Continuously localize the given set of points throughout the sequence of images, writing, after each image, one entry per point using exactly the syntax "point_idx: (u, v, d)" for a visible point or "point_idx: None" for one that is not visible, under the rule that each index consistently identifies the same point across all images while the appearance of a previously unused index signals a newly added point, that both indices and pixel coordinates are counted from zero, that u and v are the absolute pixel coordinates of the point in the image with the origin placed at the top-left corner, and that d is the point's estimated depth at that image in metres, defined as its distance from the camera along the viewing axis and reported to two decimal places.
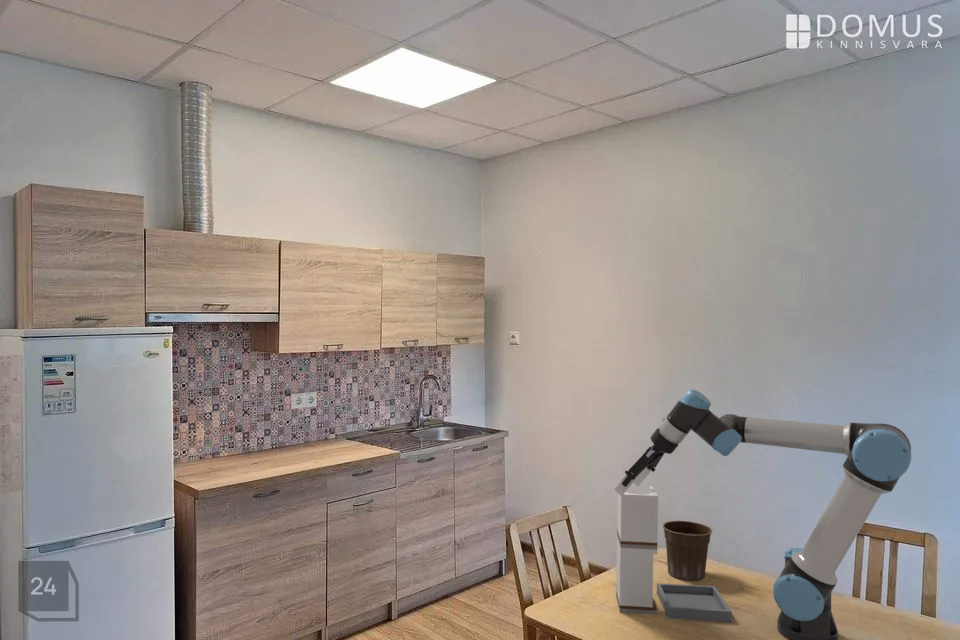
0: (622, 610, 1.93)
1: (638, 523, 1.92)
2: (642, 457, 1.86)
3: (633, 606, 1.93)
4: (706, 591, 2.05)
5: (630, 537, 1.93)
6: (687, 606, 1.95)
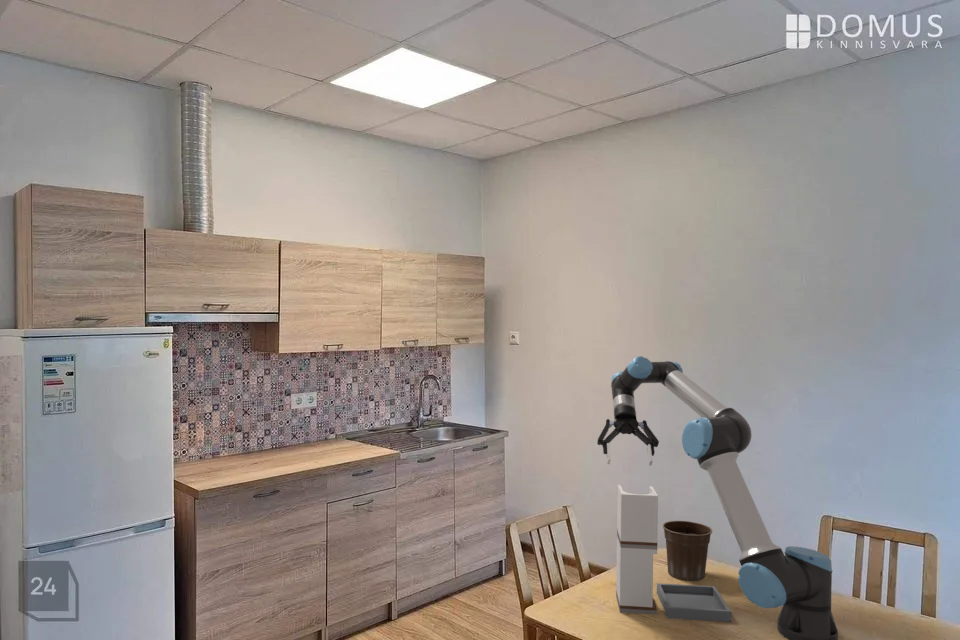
0: (622, 610, 1.93)
1: (638, 523, 1.92)
2: None
3: (633, 606, 1.93)
4: (706, 591, 2.05)
5: (630, 537, 1.93)
6: (687, 606, 1.95)
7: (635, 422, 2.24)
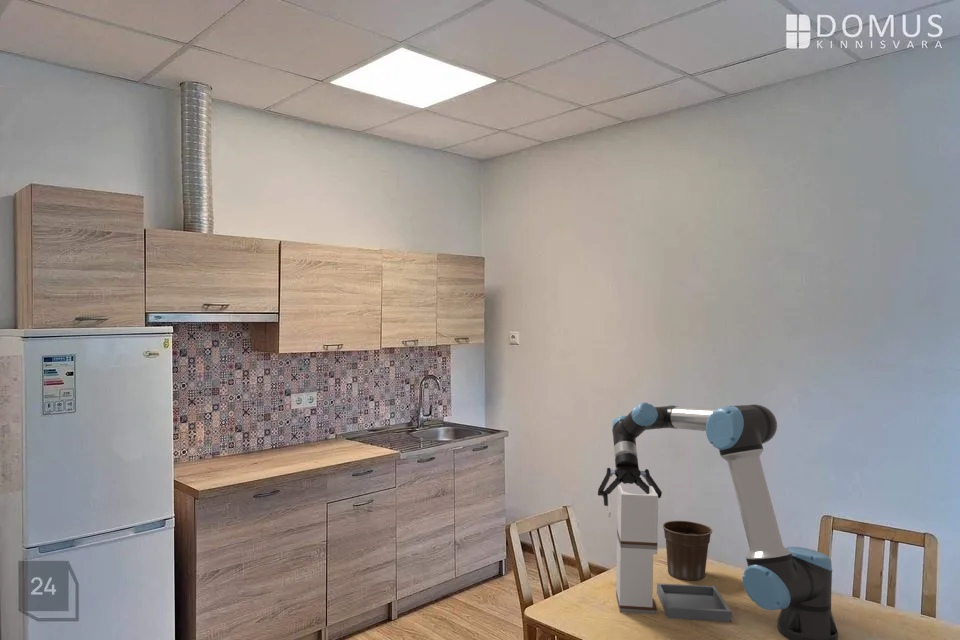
0: (622, 610, 1.93)
1: (638, 523, 1.92)
2: None
3: (633, 606, 1.93)
4: (706, 591, 2.05)
5: (630, 537, 1.93)
6: (687, 606, 1.95)
7: (637, 471, 2.15)
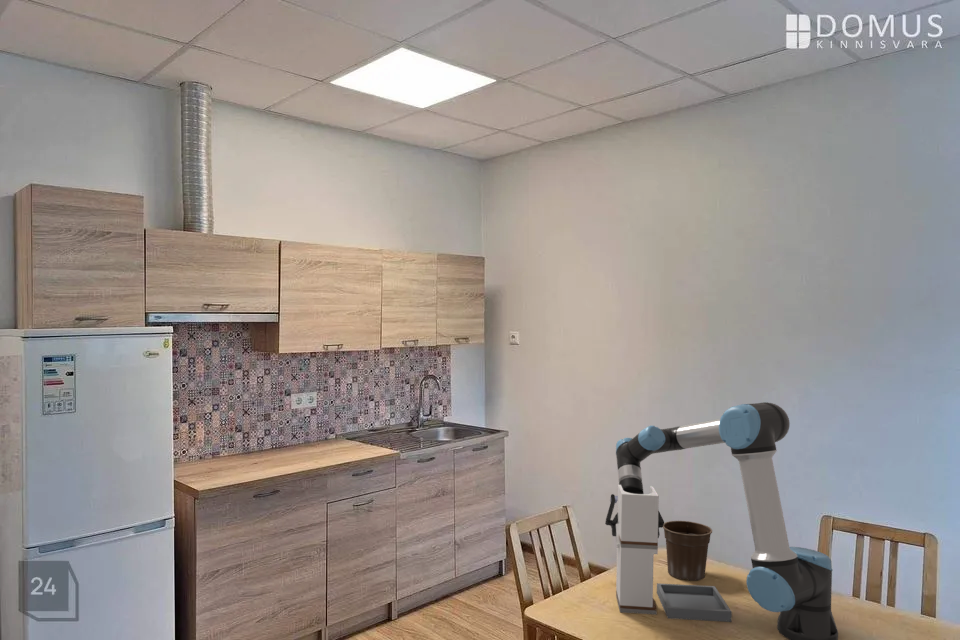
0: (622, 610, 1.93)
1: (638, 523, 1.92)
2: None
3: (633, 606, 1.93)
4: (706, 591, 2.05)
5: (630, 537, 1.93)
6: (687, 606, 1.95)
7: None
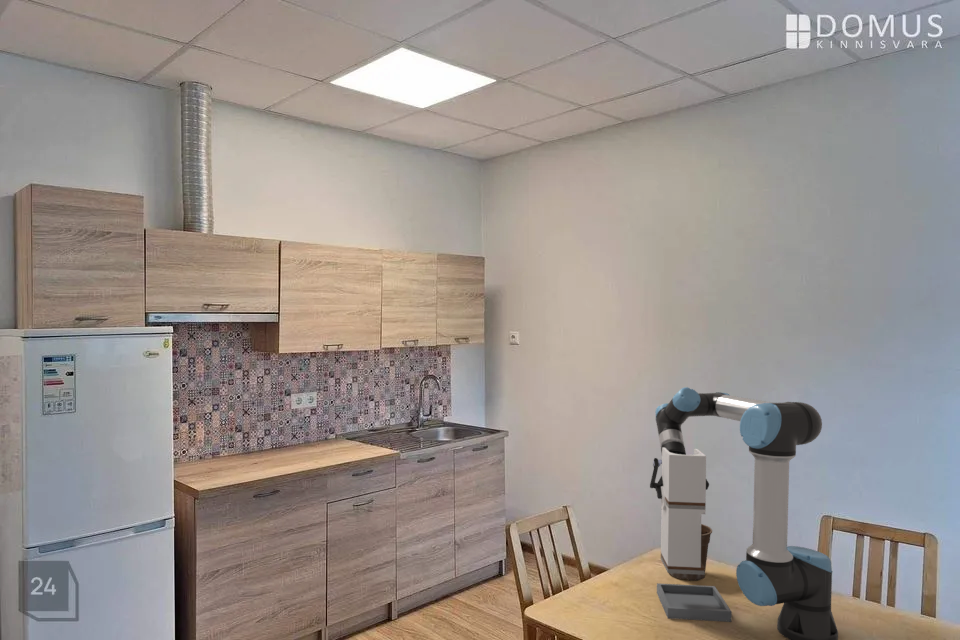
0: (670, 571, 1.93)
1: (686, 484, 1.93)
2: None
3: (681, 566, 1.93)
4: (706, 591, 2.05)
5: (678, 497, 1.93)
6: (687, 606, 1.95)
7: None
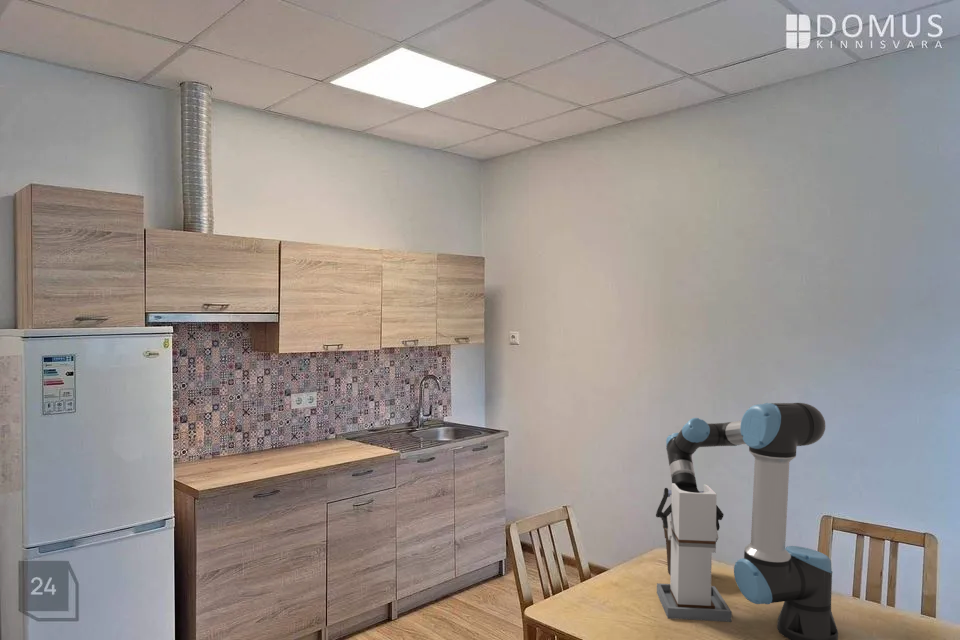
0: None
1: (696, 522, 1.92)
2: None
3: (691, 605, 1.92)
4: None
5: (688, 536, 1.92)
6: None
7: (696, 491, 2.07)
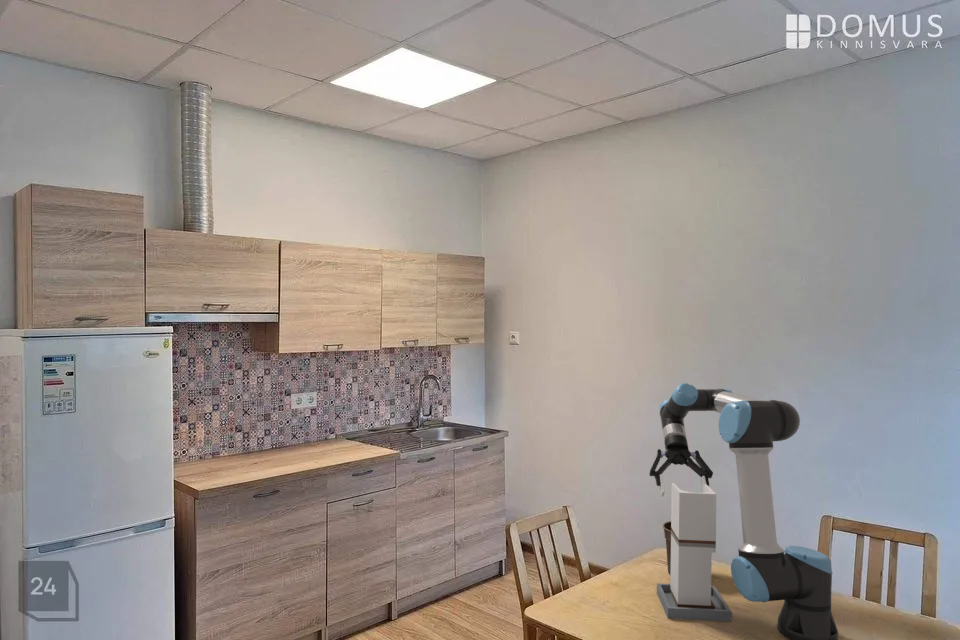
0: None
1: (696, 522, 1.92)
2: None
3: (691, 605, 1.92)
4: None
5: (688, 535, 1.92)
6: None
7: (687, 452, 2.20)
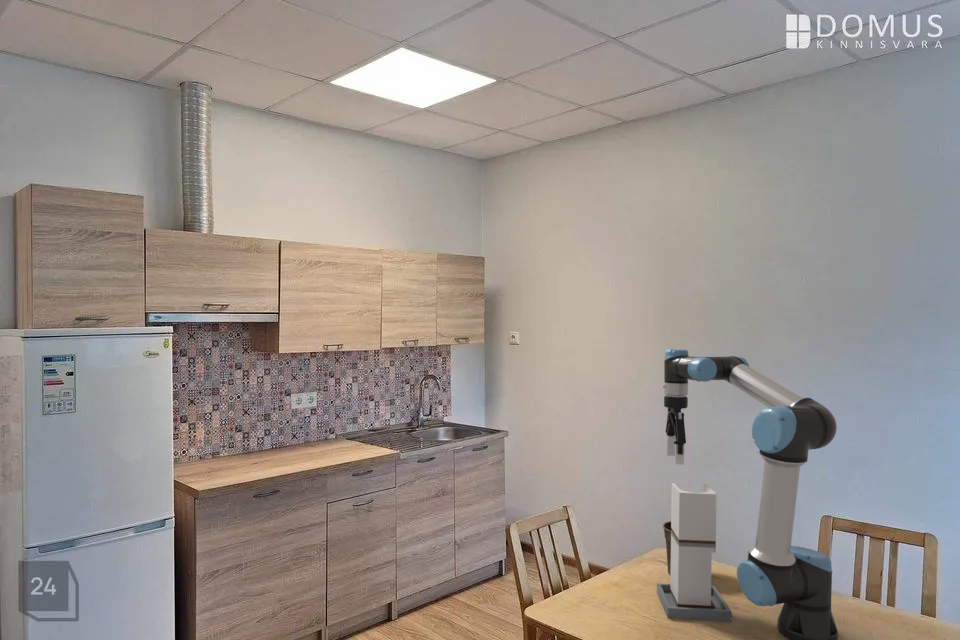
0: None
1: (696, 522, 1.92)
2: (677, 422, 2.08)
3: (691, 605, 1.92)
4: None
5: (688, 535, 1.92)
6: None
7: None
